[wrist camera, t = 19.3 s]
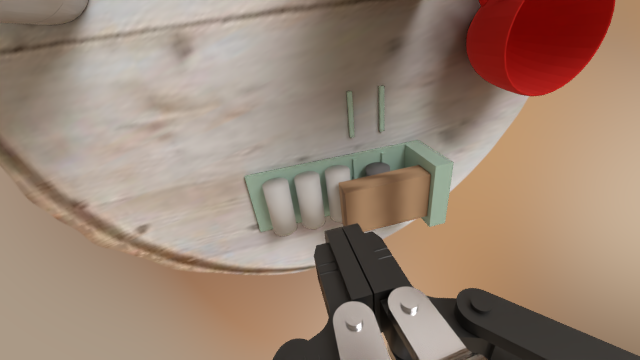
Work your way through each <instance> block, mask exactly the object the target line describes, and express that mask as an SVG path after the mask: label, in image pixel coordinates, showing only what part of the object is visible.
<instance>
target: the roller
mask: <svg viewBox="0 0 640 360" xmlns="http://www.w3.org/2000/svg"><path fill="white" fill-rule="evenodd" d="M365 169H366V177H367V176H371V175H376V174H380V173H385V172H389V171H390V166H389V165H388V164H386V163H383V162H374V163H370V164H368V165H367V166H366V168H365Z"/></svg>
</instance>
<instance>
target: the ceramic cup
mask: <svg viewBox="0 0 640 360" xmlns="http://www.w3.org/2000/svg"><path fill="white" fill-rule="evenodd" d="M479 3H480V5H481V7H480V8H479V10H478V11H477V13H476V14H475V16H474V18H473V20H472V22H471V24H470V26H469V29H468V32H467V37H466V48H467V55H468V58H469V61H470V63H471V65H472V67H473V68H474V70H475V71H476V72H477V73H478V74H479V75H480V76H481V77H482V78H483V79H484V80H486V81H487V82H489V83H491V84H493V85H495V86H497V87H500V88H502V89H505V90H507V91H510V92H513V93H517V94H520V95H526V96H539V95H545V94H548V93H551V92H553V91H555V90H557V89H559V88H561V87H562V86H564V85H565V84H567V83H568V82H569V81H570V80H572V79H573V78H574V77H575V76H576V75H577V74H579V72H581V70H582V69H583V68H584V67H585V66H586V65H587V64H588V62H589V61H590V60H591V59H592V57H593V56H594V54H595V53H596V51H597V50H598V48H599V46H600V45H601V43H602V41H603V39H604V37H605V35H606V33H607V30H608V27H609V25H610V23H611V19H612V16H613V12H614V6H615V0H479Z"/></svg>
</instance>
